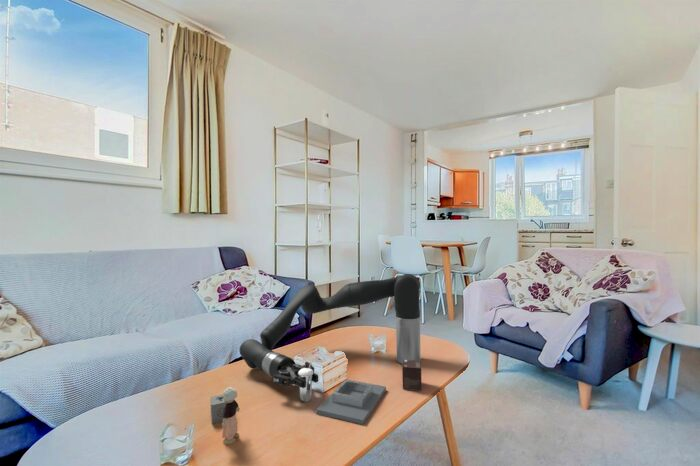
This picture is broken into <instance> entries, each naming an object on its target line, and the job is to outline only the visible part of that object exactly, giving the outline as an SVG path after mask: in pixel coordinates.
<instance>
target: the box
mask: <svg viewBox="0 0 700 466" xmlns="http://www.w3.org/2000/svg"><path fill="white" fill-rule="evenodd" d="M401 366H402V368H401V369H402V370H401V371H402V372H401V373H402V377H401V378H402V389H403V390H409V391H410V390H411V391H422V389H423V388H422V385H423V383H422V361H413V360H403V364H401Z"/></svg>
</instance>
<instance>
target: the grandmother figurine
mask: <svg viewBox="0 0 700 466" xmlns="http://www.w3.org/2000/svg"><path fill="white" fill-rule="evenodd" d="M222 394H223V398H224V401H225V402H226V403H227V404H226V406H225V408H224V415H223V421H222V424H221V426H222V432H221V434H222V435H221V438H222V439H224V440H223V442H222V443H223V445H231V444H234V443H235V442H236V438H238V437H239V436H240V433H239V432H238V431H239V430H238V421H237V417H236V416H237V415H236V414H237V413H238V412H240V410H241V409H240V406H239V403H238V402H237V400H236V398H237V397H238V392H237V389H236V388H234V387H231V386H230V387H226V388H225V389H224V391H223V393H222Z"/></svg>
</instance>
